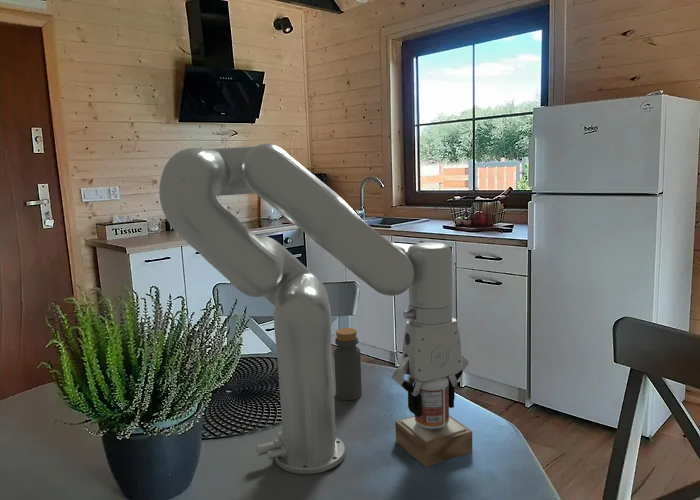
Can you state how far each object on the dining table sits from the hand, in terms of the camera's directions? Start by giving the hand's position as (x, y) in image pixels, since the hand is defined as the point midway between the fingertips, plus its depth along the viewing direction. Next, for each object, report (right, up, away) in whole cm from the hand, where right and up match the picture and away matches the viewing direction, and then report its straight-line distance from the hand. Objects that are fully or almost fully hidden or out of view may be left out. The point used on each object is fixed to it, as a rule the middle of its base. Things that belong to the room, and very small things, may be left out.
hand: (431, 408), depth 100 cm
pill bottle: (0, -3, 0) cm, 3 cm away
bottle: (-15, -4, +25) cm, 29 cm away
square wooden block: (+1, -7, +1) cm, 8 cm away
